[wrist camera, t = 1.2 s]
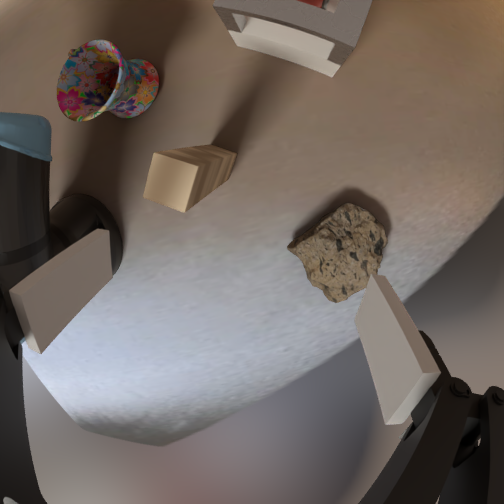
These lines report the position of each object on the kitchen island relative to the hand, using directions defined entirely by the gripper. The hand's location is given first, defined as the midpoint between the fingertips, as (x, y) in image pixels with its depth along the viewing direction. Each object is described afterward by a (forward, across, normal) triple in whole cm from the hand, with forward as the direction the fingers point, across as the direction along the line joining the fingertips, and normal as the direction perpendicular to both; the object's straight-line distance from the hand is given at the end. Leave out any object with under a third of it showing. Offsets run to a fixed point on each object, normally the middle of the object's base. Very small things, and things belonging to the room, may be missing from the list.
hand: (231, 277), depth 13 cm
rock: (+23, +12, -6) cm, 27 cm away
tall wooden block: (+23, -6, +2) cm, 24 cm away
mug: (+24, -20, +13) cm, 34 cm away
